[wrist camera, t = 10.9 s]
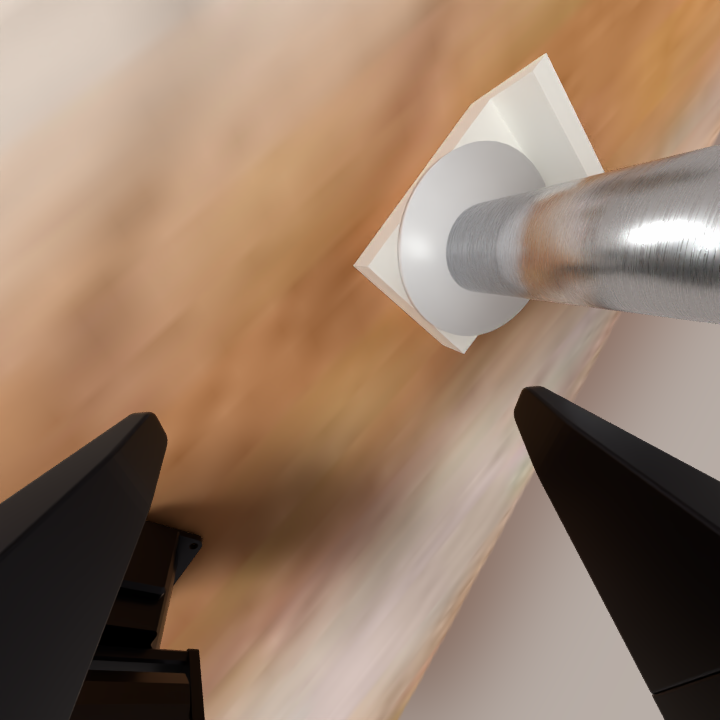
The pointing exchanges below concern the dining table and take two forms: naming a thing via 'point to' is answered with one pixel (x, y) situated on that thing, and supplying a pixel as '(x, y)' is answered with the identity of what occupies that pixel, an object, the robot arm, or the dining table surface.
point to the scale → (476, 200)
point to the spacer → (603, 240)
